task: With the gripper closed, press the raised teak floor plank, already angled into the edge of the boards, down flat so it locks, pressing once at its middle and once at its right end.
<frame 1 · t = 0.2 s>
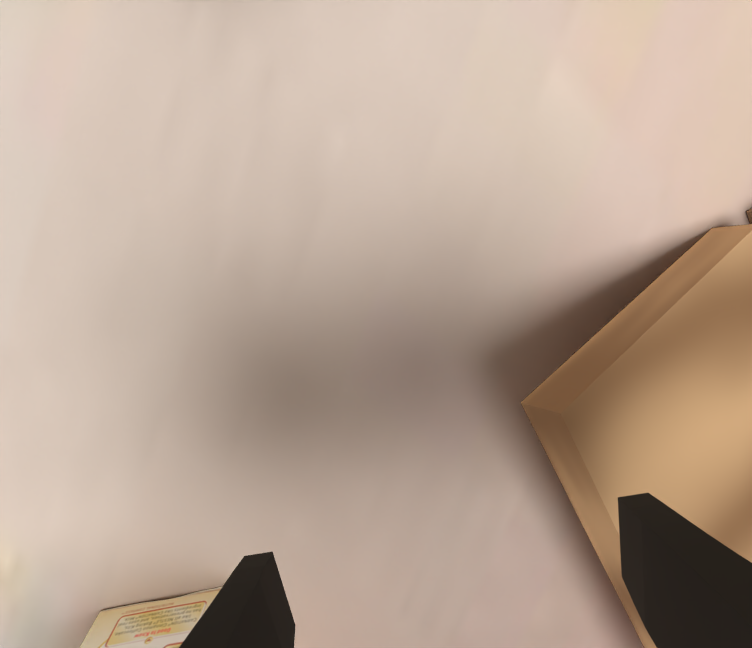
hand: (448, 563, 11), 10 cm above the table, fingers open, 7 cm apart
teak plank: (731, 521, 19), point 3 cm above the table, hinge at 30.0°
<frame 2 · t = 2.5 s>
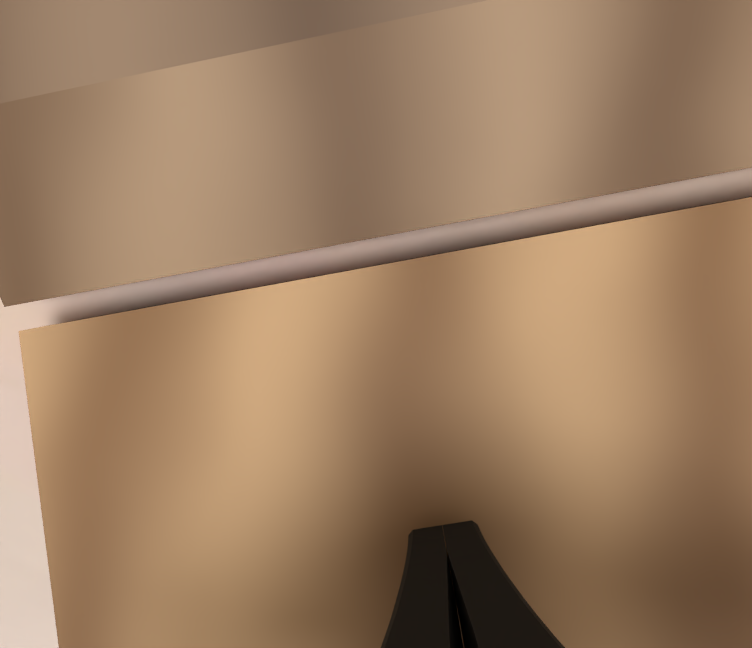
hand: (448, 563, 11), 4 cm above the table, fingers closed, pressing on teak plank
teak plank: (442, 480, 12), point 3 cm above the table, hinge at 22.2°, touching gripper
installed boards: (365, 40, 12), on the table
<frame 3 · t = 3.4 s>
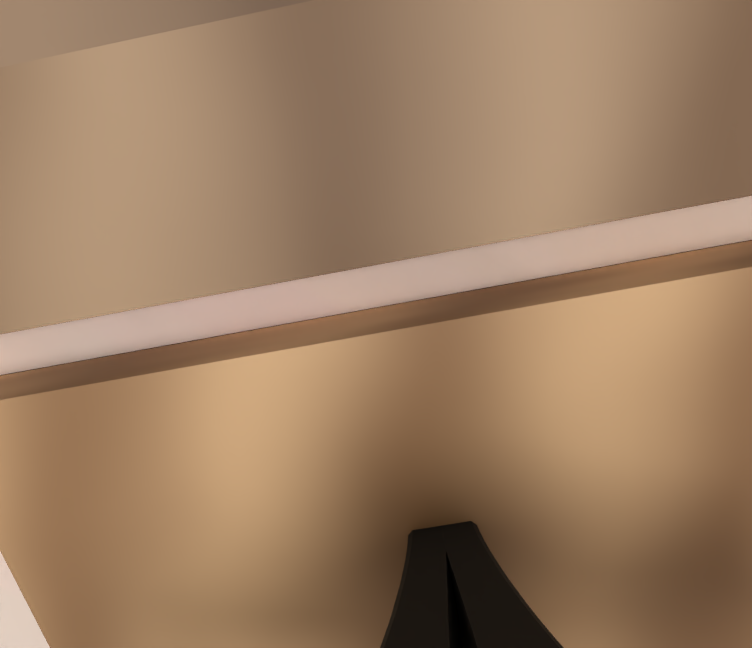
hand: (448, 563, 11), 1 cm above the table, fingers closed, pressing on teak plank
teak plank: (446, 528, 12), point 1 cm above the table, hinge at -0.2°, touching gripper
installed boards: (355, 15, 9), on the table
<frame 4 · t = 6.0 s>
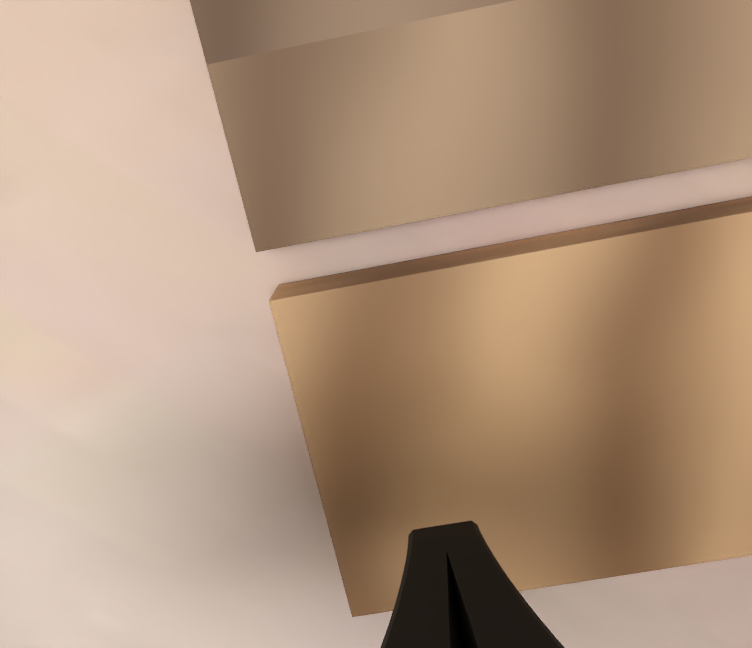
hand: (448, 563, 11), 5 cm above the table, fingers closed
teak plank: (639, 406, 15), point 1 cm above the table, hinge at -0.1°
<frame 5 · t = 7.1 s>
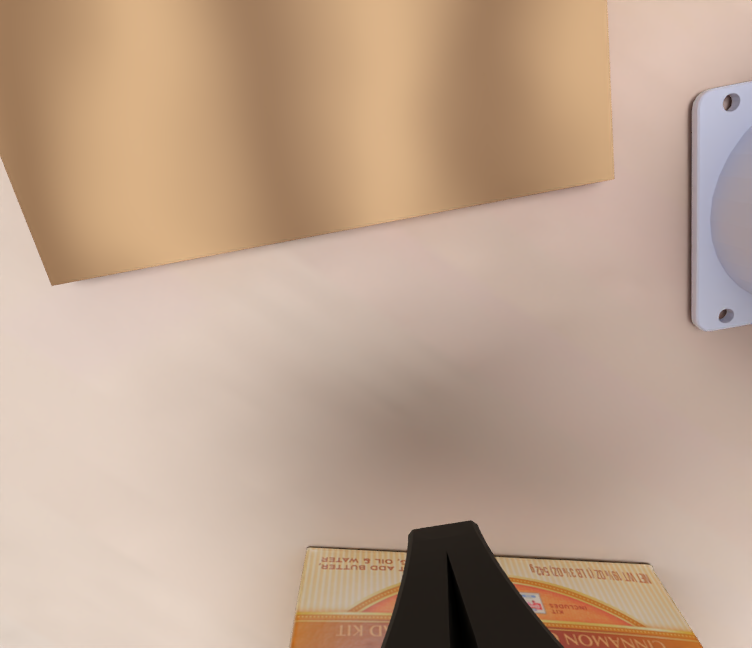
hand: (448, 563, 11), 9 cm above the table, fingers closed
teak plank: (290, 64, 16), point 1 cm above the table, hinge at -0.1°
coffeecake box: (468, 610, 24), on the table
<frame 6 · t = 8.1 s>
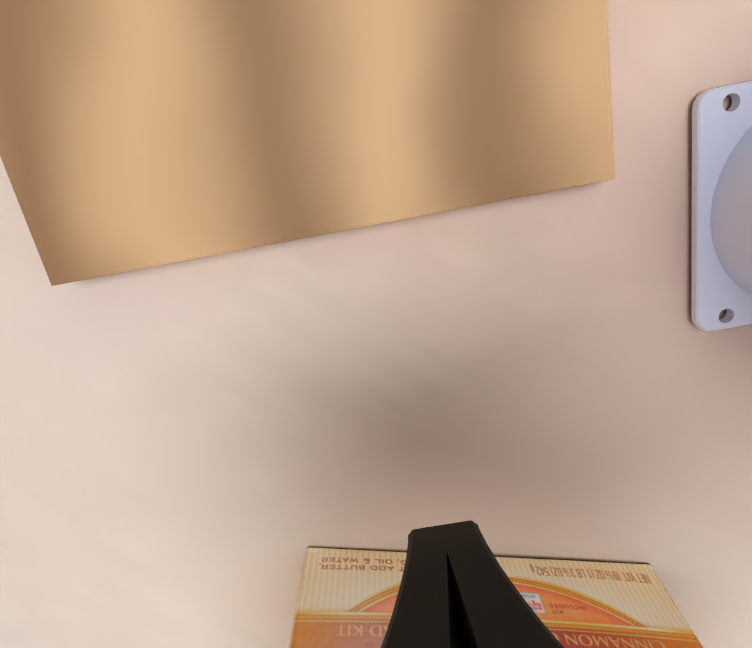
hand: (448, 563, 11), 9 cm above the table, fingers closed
teak plank: (290, 64, 16), point 1 cm above the table, hinge at -0.1°
coffeecake box: (468, 610, 24), on the table
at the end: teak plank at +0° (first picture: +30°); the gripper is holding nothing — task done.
